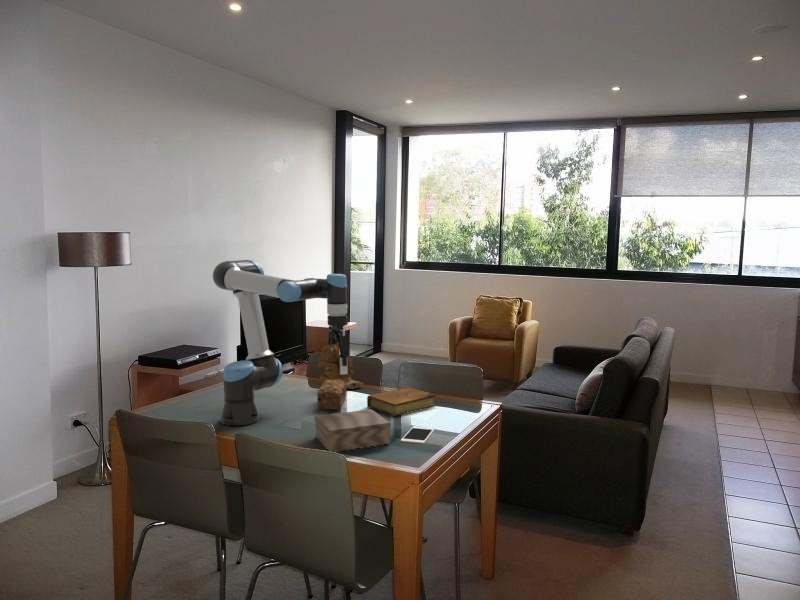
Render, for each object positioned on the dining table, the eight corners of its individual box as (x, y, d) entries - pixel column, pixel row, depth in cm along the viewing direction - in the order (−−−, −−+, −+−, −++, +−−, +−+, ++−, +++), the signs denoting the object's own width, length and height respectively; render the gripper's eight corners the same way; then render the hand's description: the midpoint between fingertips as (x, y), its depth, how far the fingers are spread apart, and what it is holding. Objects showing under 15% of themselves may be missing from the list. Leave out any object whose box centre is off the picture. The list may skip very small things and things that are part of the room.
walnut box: (330, 453, 220) (329, 430, 219) (314, 437, 236) (314, 416, 235) (390, 444, 229) (390, 422, 228) (371, 429, 246) (371, 409, 245)
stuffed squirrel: (326, 373, 252) (325, 341, 251) (359, 376, 248) (358, 342, 247) (315, 379, 243) (314, 345, 242) (349, 382, 239) (349, 347, 237)
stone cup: (325, 386, 313) (325, 356, 311) (344, 382, 321) (344, 353, 319) (344, 392, 302) (344, 361, 300) (363, 388, 309) (363, 357, 308)
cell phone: (435, 430, 246) (435, 427, 246) (423, 444, 229) (423, 442, 229) (413, 428, 249) (413, 425, 249) (400, 442, 232) (400, 440, 232)
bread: (324, 398, 290) (324, 377, 289) (347, 399, 290) (347, 377, 288) (316, 410, 272) (316, 387, 271) (341, 410, 271) (341, 387, 270)
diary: (406, 399, 292) (406, 386, 292) (435, 407, 278) (435, 394, 278) (367, 407, 277) (367, 394, 276) (395, 417, 263) (395, 403, 262)
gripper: (358, 317, 233) (358, 376, 235) (336, 310, 254) (337, 364, 257) (338, 319, 230) (339, 378, 232) (318, 311, 251) (319, 366, 254)
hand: (338, 371), depth 244 cm, fingers closed on stuffed squirrel, 12 cm apart
